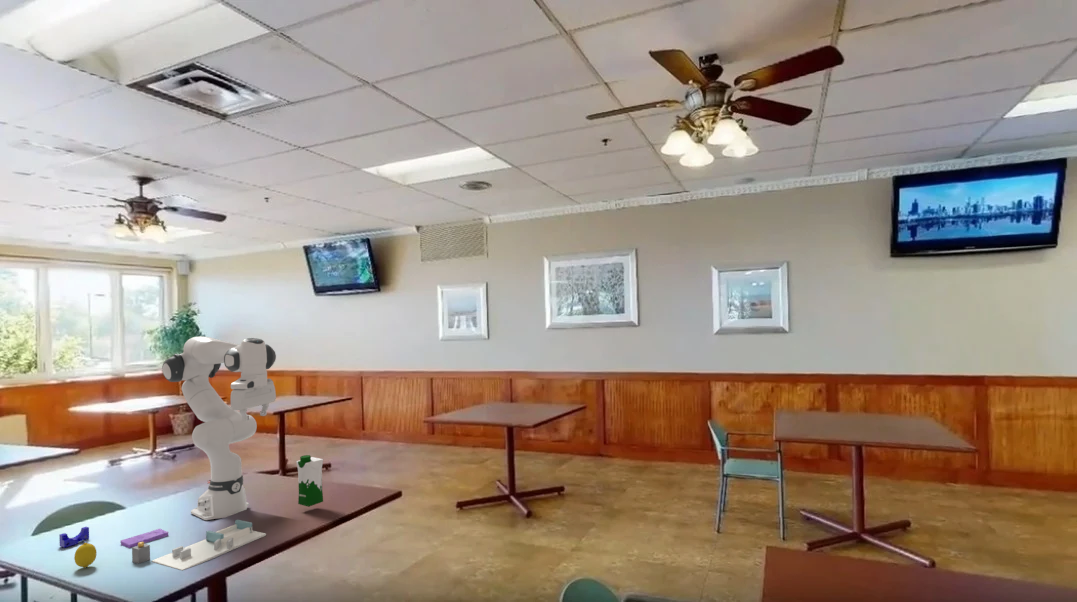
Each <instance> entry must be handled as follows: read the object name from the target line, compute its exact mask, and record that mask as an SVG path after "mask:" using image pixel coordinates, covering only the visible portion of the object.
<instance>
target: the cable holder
mask: <svg viewBox="0 0 1077 602" xmlns="http://www.w3.org/2000/svg"><path fill="white" fill-rule="evenodd" d="M89 539H90V527H89V526H83V527H81V529H80V532H79V533H78V534H77V535H76V536H74V537H70V536H68V533H65V532H64V533H60V534H59V547H61V548H64V549H65V548H68V547H71V546H75V545H77V544H79V542H82V541H86V540H89Z"/></svg>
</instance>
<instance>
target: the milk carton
mask: <svg viewBox="0 0 1077 602" xmlns="http://www.w3.org/2000/svg"><path fill="white" fill-rule="evenodd" d="M299 457H300V458H299V460H296V461H295V462H296V467H297V473H298V476H297V477H298V478H297V479H298V482H297V483H298V498H297V499H298V501H297V504H298V505H300V506H304V507H308V508H309V507H312V506H315V505H317V504H321V503H323V502H324V496H323V495H324V492H323V464H324V459H323V458H319V457H314V456H311V455H310V454H309V455H308V454H306V455H301V456H299Z"/></svg>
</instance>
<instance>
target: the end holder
mask: <svg viewBox="0 0 1077 602" xmlns="http://www.w3.org/2000/svg"><path fill="white" fill-rule="evenodd" d="M252 531H253V522H250V521H246V520H241V519H235V521H234V524H231V525H230V526H228V527H225V528H222V529H219V530H217V531H213V530H207V531H206V534H205V536H206V537H205V539H206V541H207V542H211V543H214V542H215V541H216V540H217V539H221V545H223V544H225V543H227V541H228V540H229V539H230V538H233V540H235V539H237V538H239V537H242V536H244V535H247V534H249V533H251V532H252Z"/></svg>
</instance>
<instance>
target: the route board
mask: <svg viewBox="0 0 1077 602" xmlns="http://www.w3.org/2000/svg"><path fill="white" fill-rule="evenodd" d="M265 536H267V533H265V532H262V531H261V532H260V531H256V530H252V532H251V533H249V534H247V535H244V536H242V537H239V538H237V539H235V540H233V538H230V539H229V540H228V541H227V543H225V544H223V545H221V539H217V540H216V541H215V542H214V543H211V542H207V541H206V538H205V539H203V540H200V541H198V542H195V543H193V544H190V545H187V546H185V547H184V545H180V546H178V547H175V548H172V549H171V550H172V552H170V553H167V554H165V555H162V556H160V557H157V558H155V559H152V560H151V563H154V564H158V565H161V566H165V567H168V568H172V569H176V570H180V571H185V570H187V569H190V568H192V567H195V566H198V565H201V564H203V563H205V562H207V561H210V560H213V559H215V558H217V557H219V556H222V555H224V554H226V553H228V552H232V551H233V550H235V549H238V548H240V547H242V546H244V545H247V544H250V543H251V542H255V541H256V540H258V539H260V538H263V537H265Z"/></svg>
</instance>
